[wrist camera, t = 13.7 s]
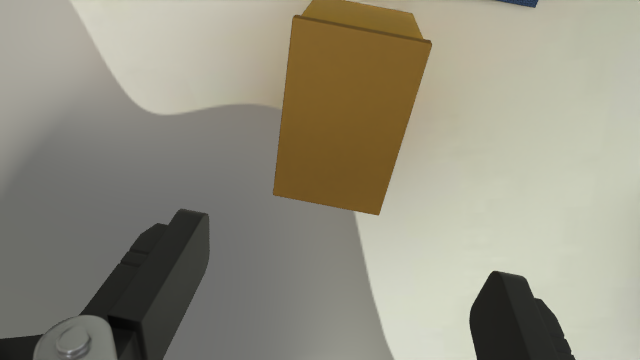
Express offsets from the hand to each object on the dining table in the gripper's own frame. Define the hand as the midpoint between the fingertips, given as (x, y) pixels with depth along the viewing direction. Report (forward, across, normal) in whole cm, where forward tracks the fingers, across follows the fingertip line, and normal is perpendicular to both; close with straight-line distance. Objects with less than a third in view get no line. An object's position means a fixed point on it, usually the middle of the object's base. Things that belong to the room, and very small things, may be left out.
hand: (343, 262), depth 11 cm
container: (+16, +1, 0) cm, 16 cm away
